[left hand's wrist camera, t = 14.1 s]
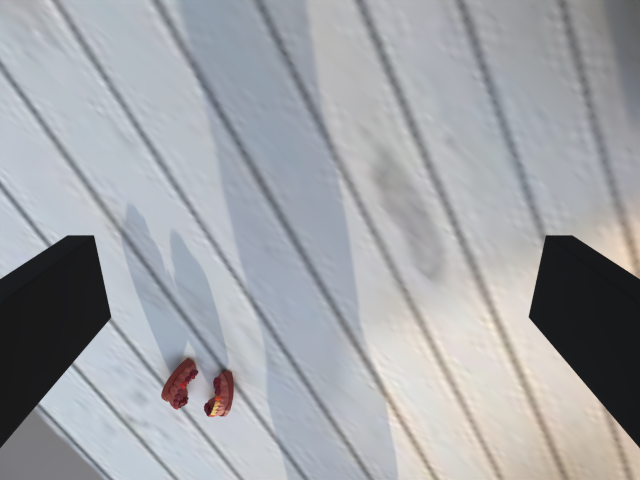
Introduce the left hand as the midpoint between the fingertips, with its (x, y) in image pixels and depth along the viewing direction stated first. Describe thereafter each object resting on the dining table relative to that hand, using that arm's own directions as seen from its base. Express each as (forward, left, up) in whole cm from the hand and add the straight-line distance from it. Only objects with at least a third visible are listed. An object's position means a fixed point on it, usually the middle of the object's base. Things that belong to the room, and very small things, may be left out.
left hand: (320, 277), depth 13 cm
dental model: (+21, +25, -31) cm, 45 cm away
